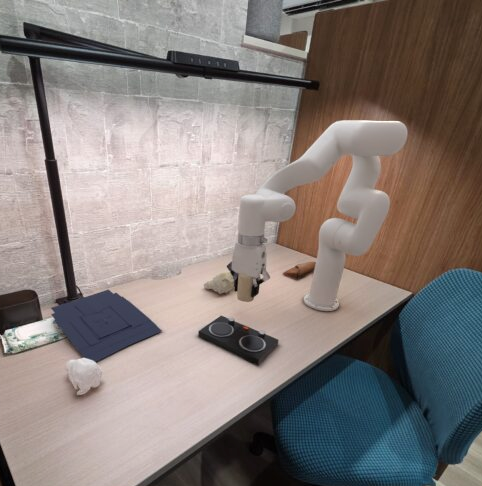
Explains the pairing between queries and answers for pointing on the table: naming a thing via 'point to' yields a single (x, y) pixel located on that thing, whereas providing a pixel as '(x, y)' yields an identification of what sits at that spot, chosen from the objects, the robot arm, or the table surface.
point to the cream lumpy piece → (221, 283)
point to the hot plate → (239, 339)
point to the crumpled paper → (84, 374)
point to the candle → (244, 288)
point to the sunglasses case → (300, 270)
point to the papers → (102, 324)
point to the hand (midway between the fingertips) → (245, 292)
